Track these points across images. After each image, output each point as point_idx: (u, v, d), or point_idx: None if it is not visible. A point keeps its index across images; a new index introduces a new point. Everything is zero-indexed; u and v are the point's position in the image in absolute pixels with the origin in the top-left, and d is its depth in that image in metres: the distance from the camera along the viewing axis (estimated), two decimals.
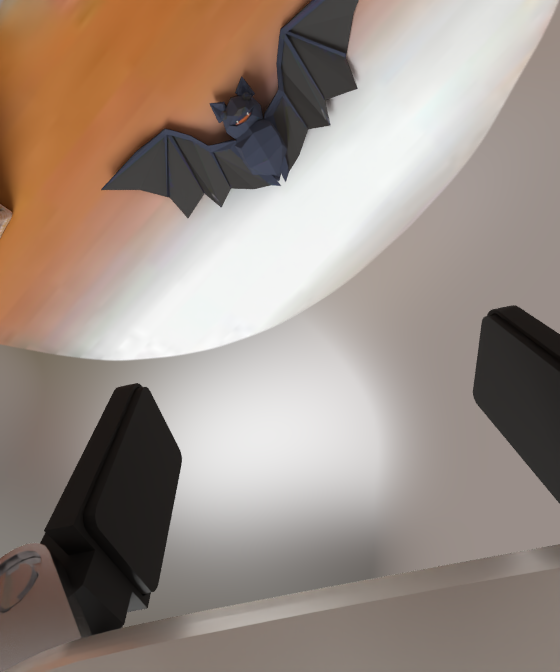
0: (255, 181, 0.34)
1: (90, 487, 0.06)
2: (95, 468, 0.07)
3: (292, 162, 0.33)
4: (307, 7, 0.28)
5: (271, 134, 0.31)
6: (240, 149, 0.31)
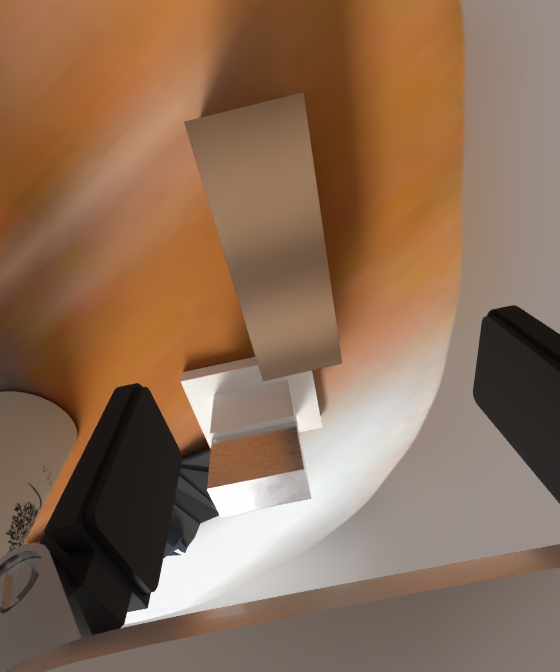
0: None
1: (90, 487, 0.06)
2: (95, 468, 0.07)
3: (189, 541, 0.36)
4: (185, 461, 0.31)
5: None
6: None
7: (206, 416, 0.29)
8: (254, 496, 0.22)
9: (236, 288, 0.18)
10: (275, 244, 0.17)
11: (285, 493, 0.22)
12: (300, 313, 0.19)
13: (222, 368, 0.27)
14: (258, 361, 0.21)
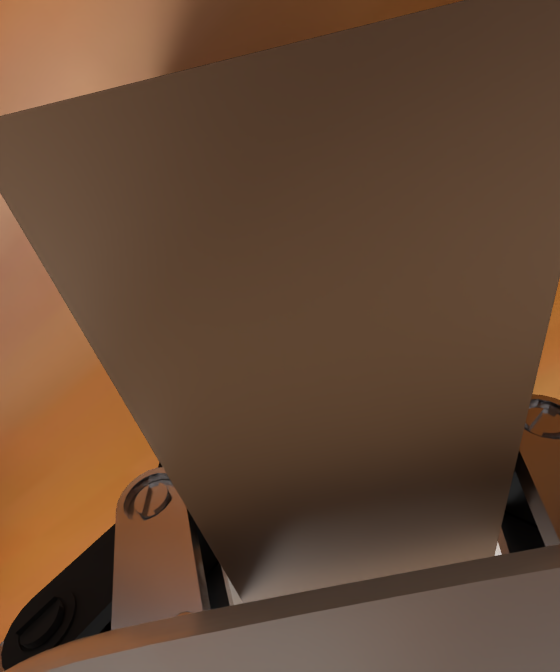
0: None
1: None
2: None
3: None
4: None
5: None
6: None
7: None
8: None
9: (238, 587, 0.07)
10: (360, 506, 0.06)
11: None
12: None
13: None
14: None
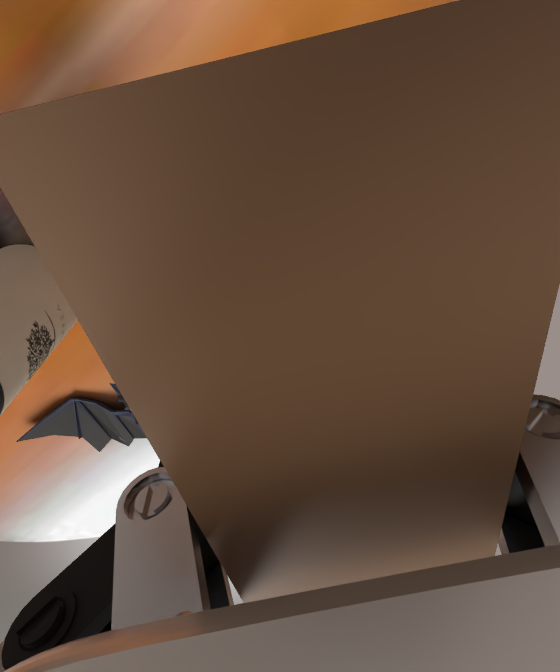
0: None
1: None
2: None
3: None
4: None
5: None
6: None
7: None
8: None
9: (238, 586, 0.07)
10: (361, 505, 0.06)
11: None
12: None
13: None
14: None
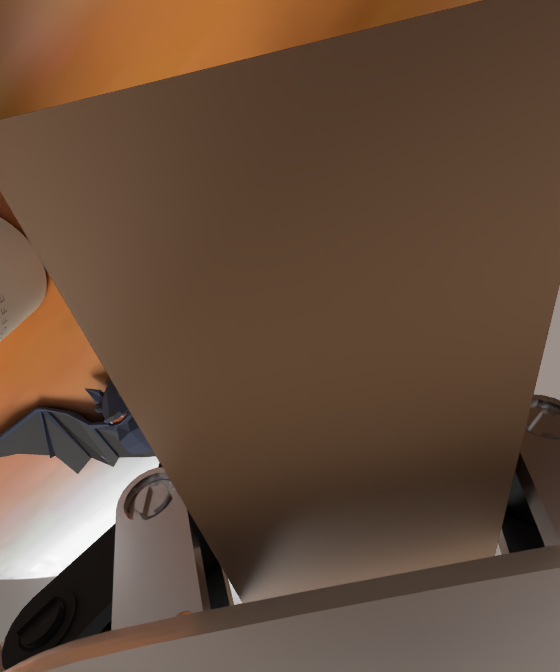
0: (146, 451, 0.30)
1: None
2: None
3: None
4: None
5: None
6: None
7: None
8: None
9: (238, 588, 0.07)
10: (361, 507, 0.06)
11: None
12: None
13: None
14: None
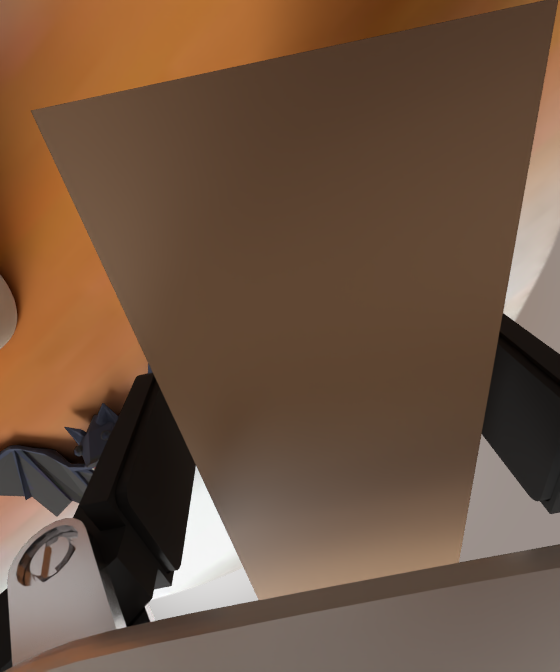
0: None
1: (120, 466, 0.07)
2: (123, 449, 0.07)
3: None
4: None
5: None
6: None
7: None
8: None
9: (235, 539, 0.07)
10: (346, 461, 0.06)
11: None
12: (380, 569, 0.08)
13: None
14: None
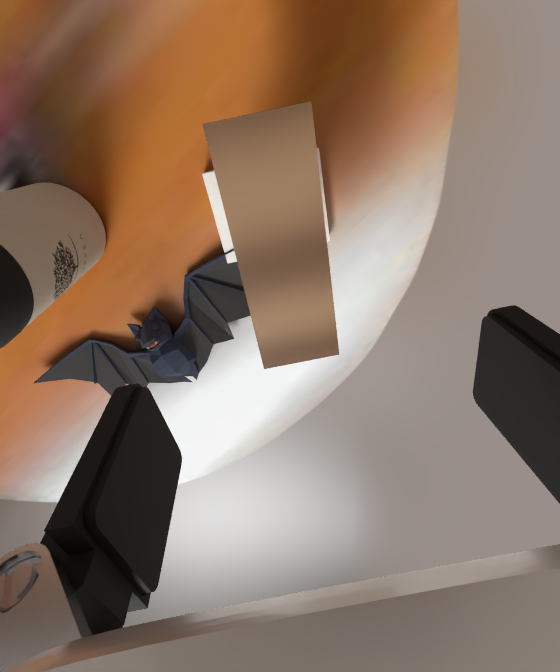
0: (170, 378, 0.39)
1: (89, 486, 0.06)
2: (95, 468, 0.07)
3: (201, 366, 0.38)
4: (205, 265, 0.34)
5: (178, 355, 0.36)
6: None
7: (224, 219, 0.31)
8: None
9: (243, 279, 0.20)
10: (280, 239, 0.19)
11: None
12: (301, 305, 0.21)
13: None
14: (260, 349, 0.22)
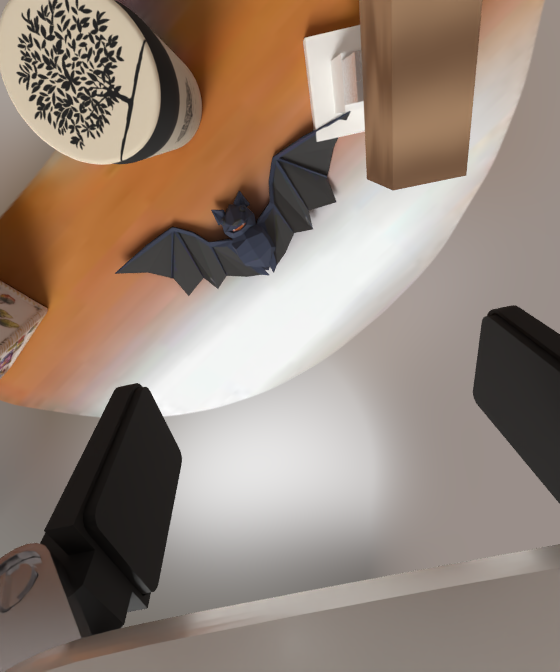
0: (247, 270, 0.40)
1: (89, 487, 0.06)
2: (95, 468, 0.07)
3: (279, 257, 0.39)
4: (295, 143, 0.34)
5: (262, 239, 0.37)
6: (235, 249, 0.37)
7: (320, 91, 0.32)
8: None
9: (393, 74, 0.20)
10: (437, 26, 0.19)
11: None
12: (441, 110, 0.22)
13: None
14: (394, 165, 0.23)
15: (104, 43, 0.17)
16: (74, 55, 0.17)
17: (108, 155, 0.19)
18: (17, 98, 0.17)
